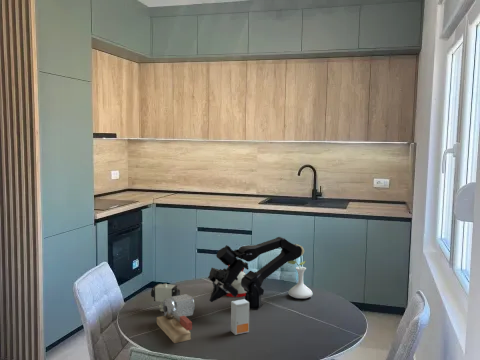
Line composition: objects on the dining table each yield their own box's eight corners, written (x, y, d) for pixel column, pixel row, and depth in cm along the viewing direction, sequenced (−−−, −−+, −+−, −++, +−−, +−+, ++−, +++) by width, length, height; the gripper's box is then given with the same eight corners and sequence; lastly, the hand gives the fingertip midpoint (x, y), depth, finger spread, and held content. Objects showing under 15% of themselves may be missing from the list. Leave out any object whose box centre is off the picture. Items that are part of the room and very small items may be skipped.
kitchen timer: (225, 287, 226) (225, 258, 224) (252, 288, 224) (252, 259, 222) (220, 296, 212) (220, 265, 211) (248, 297, 210) (248, 266, 209)
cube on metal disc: (188, 309, 187) (188, 293, 187) (194, 314, 181) (194, 298, 181) (171, 312, 183) (170, 296, 183) (176, 318, 178) (176, 301, 177)
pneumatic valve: (176, 313, 190) (176, 286, 189) (151, 311, 193) (150, 284, 192) (181, 309, 196) (180, 282, 195) (156, 306, 198) (156, 280, 197)
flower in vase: (316, 295, 213) (317, 243, 211) (306, 302, 203) (306, 248, 202) (292, 290, 220) (292, 240, 218) (281, 297, 211) (281, 244, 209)
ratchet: (185, 310, 187) (185, 292, 186) (209, 331, 166) (209, 312, 165) (161, 315, 182) (161, 296, 181) (183, 337, 161) (183, 317, 160)
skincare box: (235, 335, 169) (235, 304, 168) (230, 331, 173) (230, 301, 172) (249, 332, 172) (249, 302, 171) (244, 328, 176) (244, 298, 175)
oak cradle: (173, 320, 183) (172, 308, 183) (191, 339, 166) (191, 325, 165) (156, 323, 180) (156, 311, 179) (174, 343, 162) (174, 329, 162)
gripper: (211, 255, 197) (188, 284, 193) (230, 266, 181) (206, 297, 177) (227, 270, 202) (206, 298, 198) (248, 281, 185) (225, 312, 181)
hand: (210, 301), depth 188 cm, fingers closed
